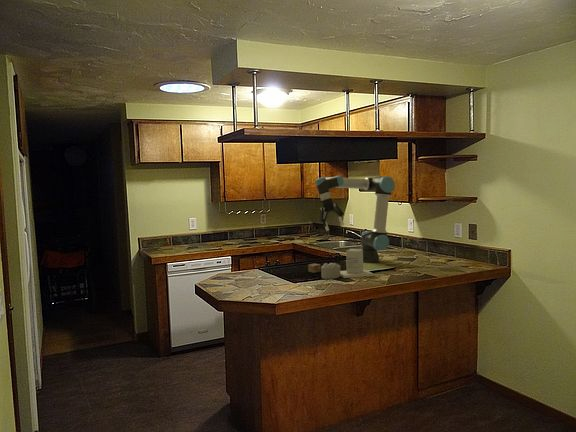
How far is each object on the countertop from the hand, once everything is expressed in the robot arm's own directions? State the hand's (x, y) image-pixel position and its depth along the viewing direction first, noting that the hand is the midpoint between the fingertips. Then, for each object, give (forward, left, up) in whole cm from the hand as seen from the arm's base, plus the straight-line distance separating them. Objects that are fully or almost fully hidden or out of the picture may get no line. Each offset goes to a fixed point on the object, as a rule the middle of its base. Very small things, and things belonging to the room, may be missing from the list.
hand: (335, 228), depth 315 cm
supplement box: (-7, +21, -28) cm, 35 cm away
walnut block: (+16, +3, -29) cm, 34 cm away
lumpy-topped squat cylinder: (+11, +23, -29) cm, 39 cm away
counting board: (-7, +21, -29) cm, 37 cm away
